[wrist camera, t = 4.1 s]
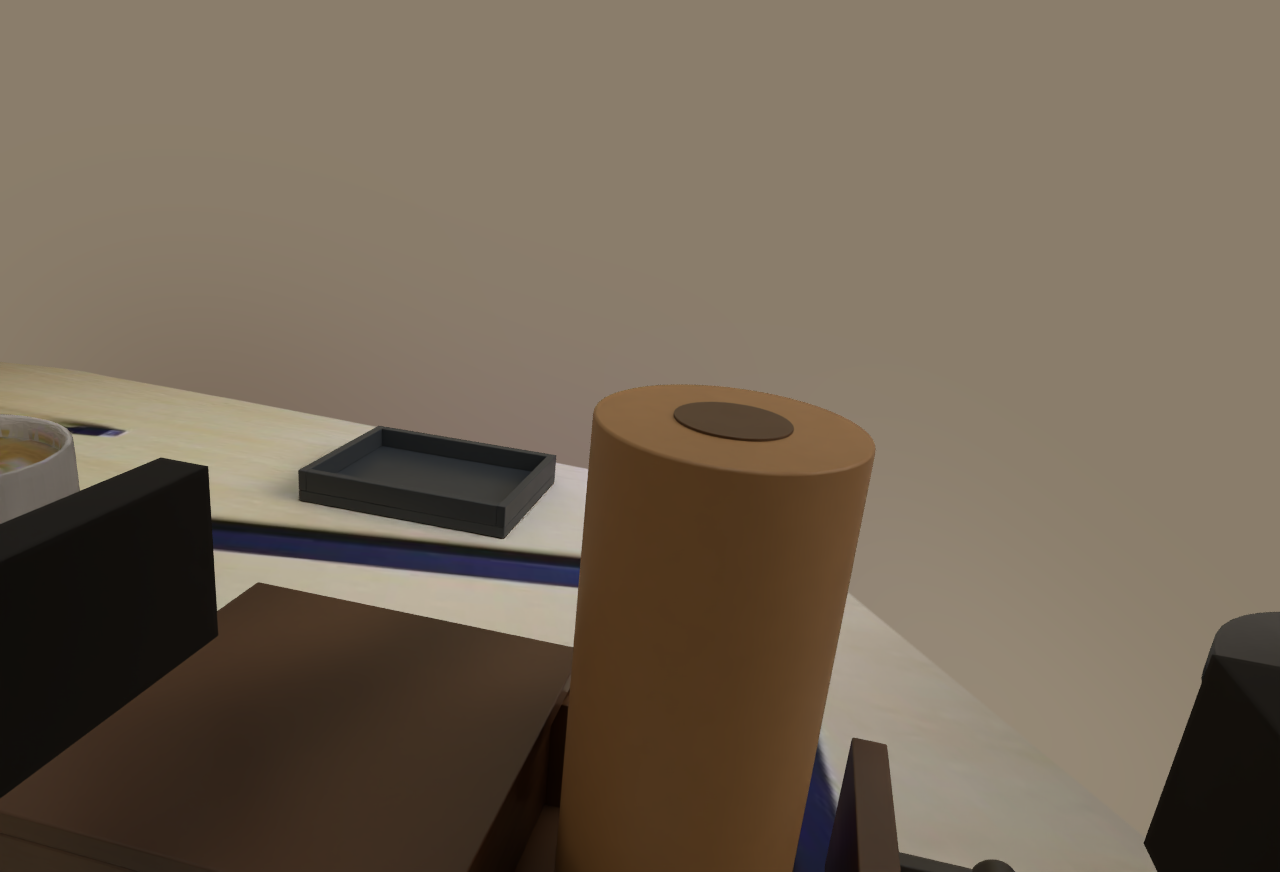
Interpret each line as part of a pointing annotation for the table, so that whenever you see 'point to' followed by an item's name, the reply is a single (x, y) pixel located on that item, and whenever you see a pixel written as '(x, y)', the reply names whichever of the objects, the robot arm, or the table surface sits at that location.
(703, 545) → the paper roll
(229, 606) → the cabinet
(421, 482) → the tray
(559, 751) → the drawer
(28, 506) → the coffee mug
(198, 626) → the robot arm
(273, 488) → the table surface
